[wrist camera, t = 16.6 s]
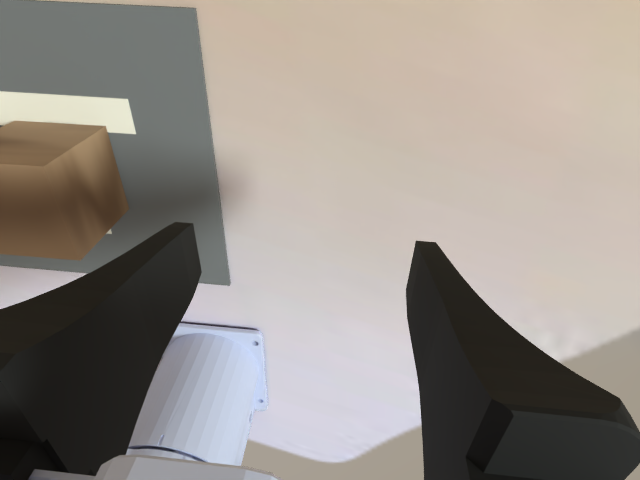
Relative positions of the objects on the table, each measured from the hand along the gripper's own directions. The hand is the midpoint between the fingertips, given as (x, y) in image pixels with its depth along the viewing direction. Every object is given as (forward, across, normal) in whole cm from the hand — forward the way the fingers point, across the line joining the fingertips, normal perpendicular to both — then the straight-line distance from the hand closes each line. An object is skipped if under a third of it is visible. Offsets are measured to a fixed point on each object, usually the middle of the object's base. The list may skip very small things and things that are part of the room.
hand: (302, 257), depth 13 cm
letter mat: (+9, +14, +2) cm, 17 cm away
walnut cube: (+9, +14, +2) cm, 17 cm away
